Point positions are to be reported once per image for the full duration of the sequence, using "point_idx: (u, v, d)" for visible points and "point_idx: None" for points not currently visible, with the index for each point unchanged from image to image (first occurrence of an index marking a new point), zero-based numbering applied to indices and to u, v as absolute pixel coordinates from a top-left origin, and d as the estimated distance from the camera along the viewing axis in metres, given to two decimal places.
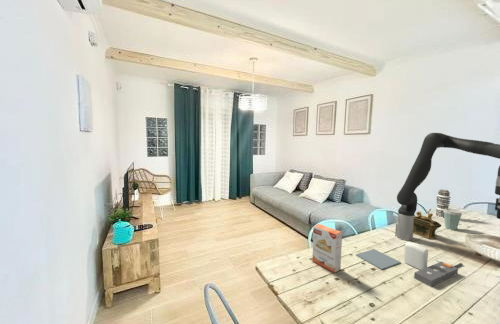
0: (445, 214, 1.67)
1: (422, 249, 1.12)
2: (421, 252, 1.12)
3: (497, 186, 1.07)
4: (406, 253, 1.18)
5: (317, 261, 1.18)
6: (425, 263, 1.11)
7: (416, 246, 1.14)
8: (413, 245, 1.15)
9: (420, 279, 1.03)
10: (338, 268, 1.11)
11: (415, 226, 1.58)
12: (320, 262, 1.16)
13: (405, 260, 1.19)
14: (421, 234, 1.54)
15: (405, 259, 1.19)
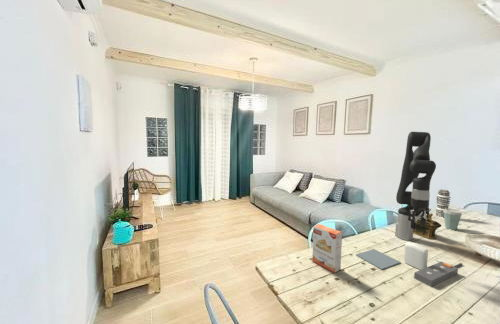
0: (445, 214, 1.67)
1: (422, 249, 1.12)
2: (421, 252, 1.12)
3: (411, 198, 1.14)
4: (406, 253, 1.18)
5: (317, 261, 1.18)
6: (425, 263, 1.11)
7: (416, 246, 1.14)
8: (413, 245, 1.15)
9: (420, 279, 1.03)
10: (338, 268, 1.11)
11: None
12: (320, 262, 1.16)
13: (405, 260, 1.19)
14: (421, 234, 1.54)
15: (405, 259, 1.19)
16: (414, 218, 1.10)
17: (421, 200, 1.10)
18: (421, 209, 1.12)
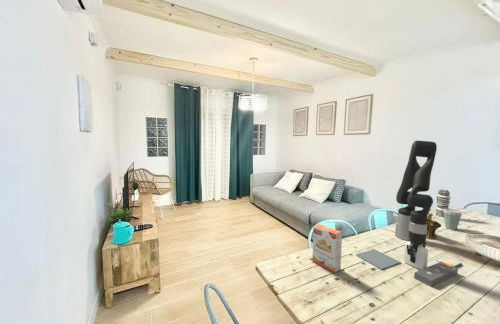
0: (445, 214, 1.67)
1: (422, 249, 1.12)
2: (421, 252, 1.12)
3: (409, 230, 1.16)
4: (406, 253, 1.18)
5: (317, 261, 1.18)
6: (425, 263, 1.11)
7: None
8: None
9: (420, 279, 1.03)
10: (338, 268, 1.11)
11: None
12: (320, 262, 1.16)
13: (405, 260, 1.19)
14: None
15: (405, 259, 1.19)
16: (413, 252, 1.12)
17: (418, 234, 1.11)
18: (418, 242, 1.14)
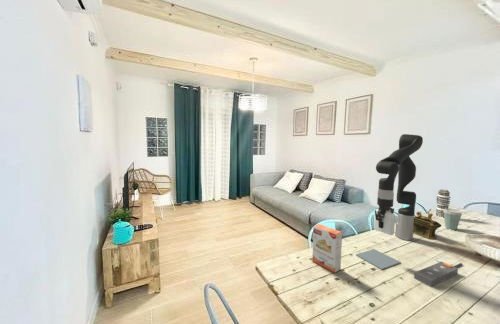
0: (445, 214, 1.67)
1: (389, 214, 1.16)
2: (388, 217, 1.16)
3: None
4: (375, 220, 1.22)
5: (317, 261, 1.18)
6: (392, 227, 1.16)
7: None
8: None
9: (420, 279, 1.03)
10: (338, 268, 1.11)
11: (415, 226, 1.58)
12: (320, 262, 1.16)
13: (374, 227, 1.23)
14: (421, 234, 1.54)
15: (374, 226, 1.23)
16: (380, 218, 1.17)
17: (385, 199, 1.16)
18: (386, 208, 1.18)
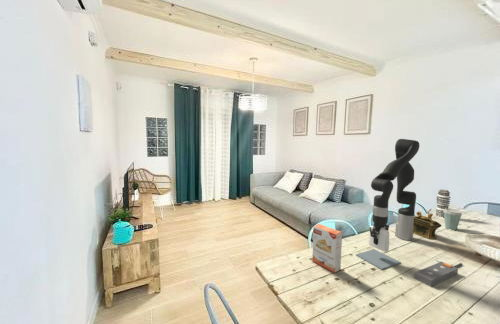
0: (445, 214, 1.66)
1: (384, 231, 1.18)
2: (383, 233, 1.18)
3: None
4: (370, 236, 1.24)
5: (317, 261, 1.18)
6: (386, 244, 1.18)
7: None
8: None
9: (420, 279, 1.03)
10: (338, 268, 1.11)
11: (415, 226, 1.58)
12: (320, 262, 1.16)
13: (370, 242, 1.25)
14: (421, 234, 1.54)
15: (370, 242, 1.25)
16: (375, 234, 1.19)
17: (380, 217, 1.18)
18: (381, 225, 1.20)
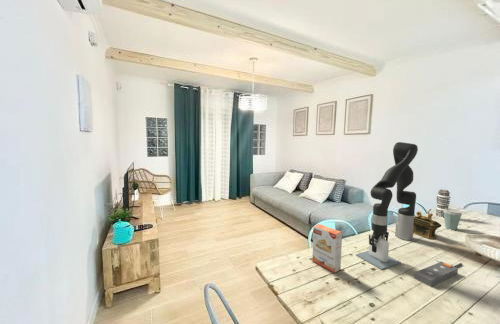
0: (445, 214, 1.67)
1: (383, 241, 1.19)
2: (382, 244, 1.19)
3: (372, 222, 1.22)
4: (370, 246, 1.25)
5: (317, 261, 1.18)
6: (386, 255, 1.18)
7: None
8: None
9: (420, 279, 1.03)
10: (338, 268, 1.11)
11: (415, 226, 1.58)
12: (320, 262, 1.16)
13: (369, 252, 1.26)
14: (421, 234, 1.54)
15: (369, 251, 1.26)
16: None
17: (379, 225, 1.18)
18: (380, 233, 1.21)
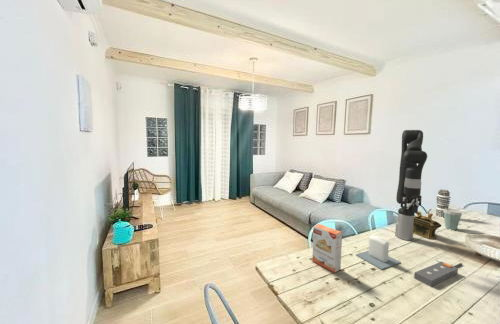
0: (445, 214, 1.67)
1: (383, 242, 1.19)
2: (382, 244, 1.19)
3: (404, 186, 1.22)
4: (370, 246, 1.25)
5: (317, 261, 1.18)
6: (386, 255, 1.18)
7: (378, 239, 1.21)
8: (376, 238, 1.22)
9: (420, 279, 1.03)
10: (338, 268, 1.11)
11: (415, 226, 1.58)
12: (320, 262, 1.16)
13: (369, 252, 1.26)
14: (421, 234, 1.54)
15: (369, 251, 1.26)
16: (406, 205, 1.18)
17: (413, 188, 1.17)
18: (413, 197, 1.20)
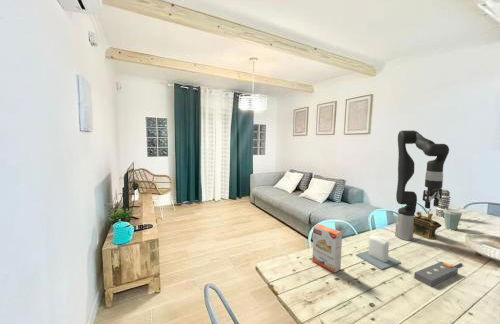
0: (445, 214, 1.67)
1: (383, 242, 1.19)
2: (382, 244, 1.19)
3: (425, 179, 1.22)
4: (370, 246, 1.25)
5: (317, 261, 1.18)
6: (386, 255, 1.18)
7: (378, 239, 1.21)
8: (376, 238, 1.22)
9: (420, 279, 1.03)
10: (338, 268, 1.11)
11: (415, 226, 1.58)
12: (320, 262, 1.16)
13: (369, 252, 1.26)
14: (421, 234, 1.54)
15: (369, 251, 1.26)
16: (428, 198, 1.18)
17: (435, 181, 1.17)
18: (435, 190, 1.20)
